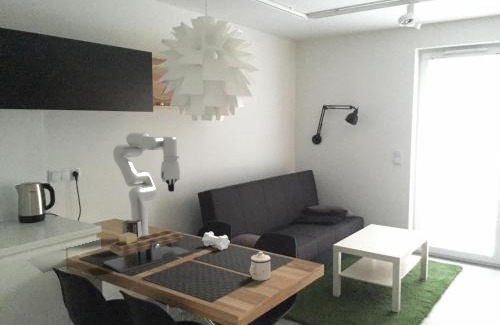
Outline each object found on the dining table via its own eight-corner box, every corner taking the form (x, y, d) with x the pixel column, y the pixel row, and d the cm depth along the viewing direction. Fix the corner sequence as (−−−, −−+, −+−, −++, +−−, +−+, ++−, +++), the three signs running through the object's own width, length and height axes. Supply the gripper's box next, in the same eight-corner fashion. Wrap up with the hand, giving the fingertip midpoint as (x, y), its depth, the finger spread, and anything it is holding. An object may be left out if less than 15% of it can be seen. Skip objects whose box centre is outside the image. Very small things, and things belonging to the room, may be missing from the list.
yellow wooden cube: (119, 246, 202) (119, 235, 201) (129, 243, 206) (129, 232, 206) (127, 248, 198) (126, 236, 197) (137, 245, 203) (136, 234, 202)
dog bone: (230, 249, 226) (230, 235, 226) (219, 251, 219) (219, 236, 219) (212, 244, 236) (212, 230, 236) (200, 246, 229) (201, 232, 229)
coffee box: (143, 247, 229) (142, 219, 228) (139, 251, 223) (137, 222, 221) (127, 247, 230) (126, 219, 229) (123, 251, 224) (121, 222, 222)
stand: (103, 263, 204) (102, 244, 203) (171, 246, 232) (170, 228, 231) (121, 272, 190) (120, 252, 189) (190, 253, 218) (190, 235, 217)
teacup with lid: (259, 272, 189) (258, 247, 188) (275, 276, 183) (274, 251, 182) (242, 280, 179) (242, 254, 178) (258, 284, 174) (258, 258, 173)
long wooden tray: (171, 240, 227) (170, 228, 227) (183, 245, 219) (183, 232, 218) (110, 256, 202) (109, 242, 202) (121, 262, 194) (120, 247, 193)
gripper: (178, 157, 234) (178, 189, 236) (155, 159, 224) (156, 192, 226) (185, 158, 229) (186, 190, 231) (162, 160, 219) (163, 193, 221)
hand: (171, 191), depth 228 cm, fingers closed
